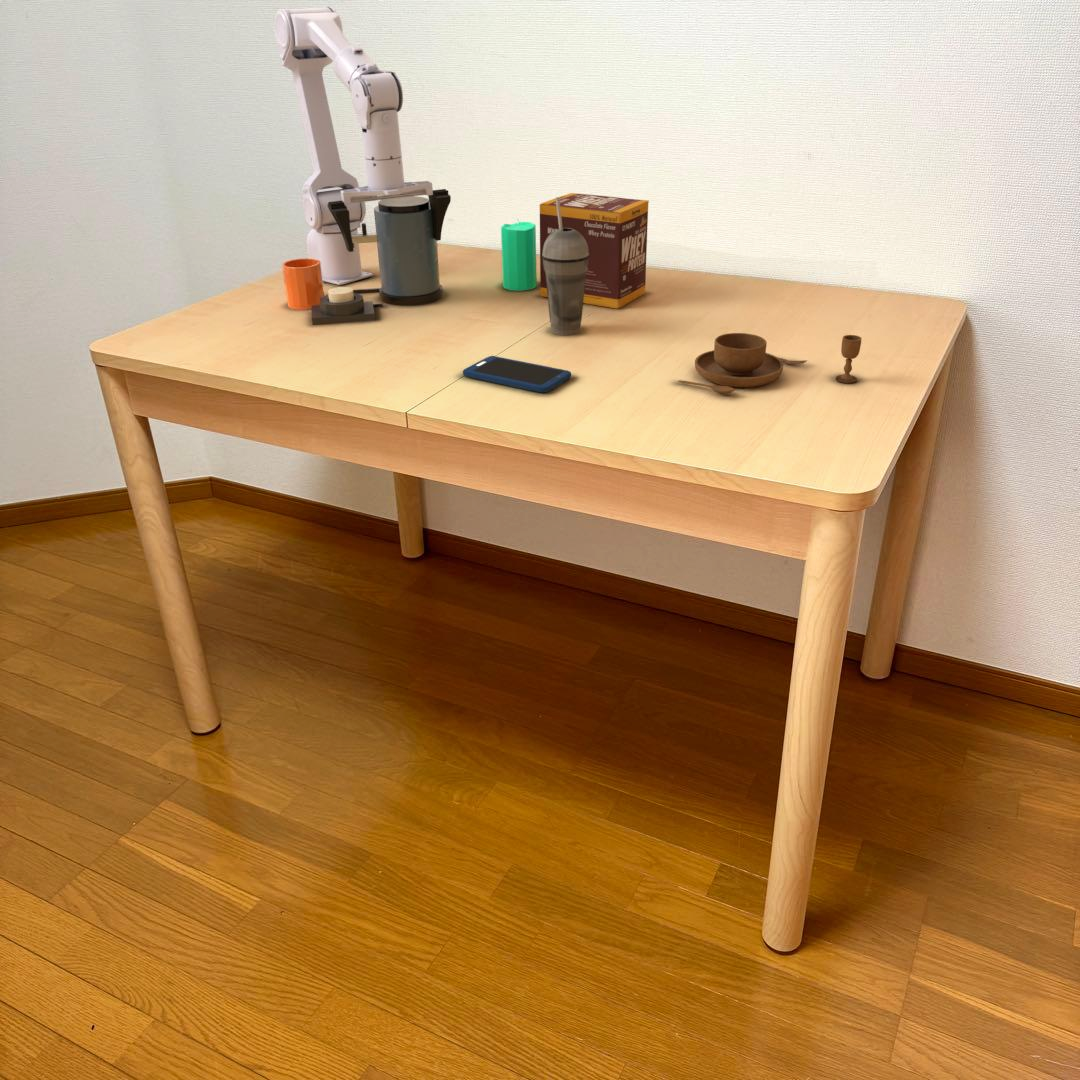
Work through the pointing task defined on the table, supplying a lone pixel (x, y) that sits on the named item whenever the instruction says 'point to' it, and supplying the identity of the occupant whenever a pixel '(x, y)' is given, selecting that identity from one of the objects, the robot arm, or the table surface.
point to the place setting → (755, 362)
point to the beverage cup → (565, 277)
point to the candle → (519, 256)
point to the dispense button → (341, 294)
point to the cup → (303, 283)
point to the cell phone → (517, 374)
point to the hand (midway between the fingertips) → (392, 245)
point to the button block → (342, 311)
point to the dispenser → (404, 252)
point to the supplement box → (603, 244)
